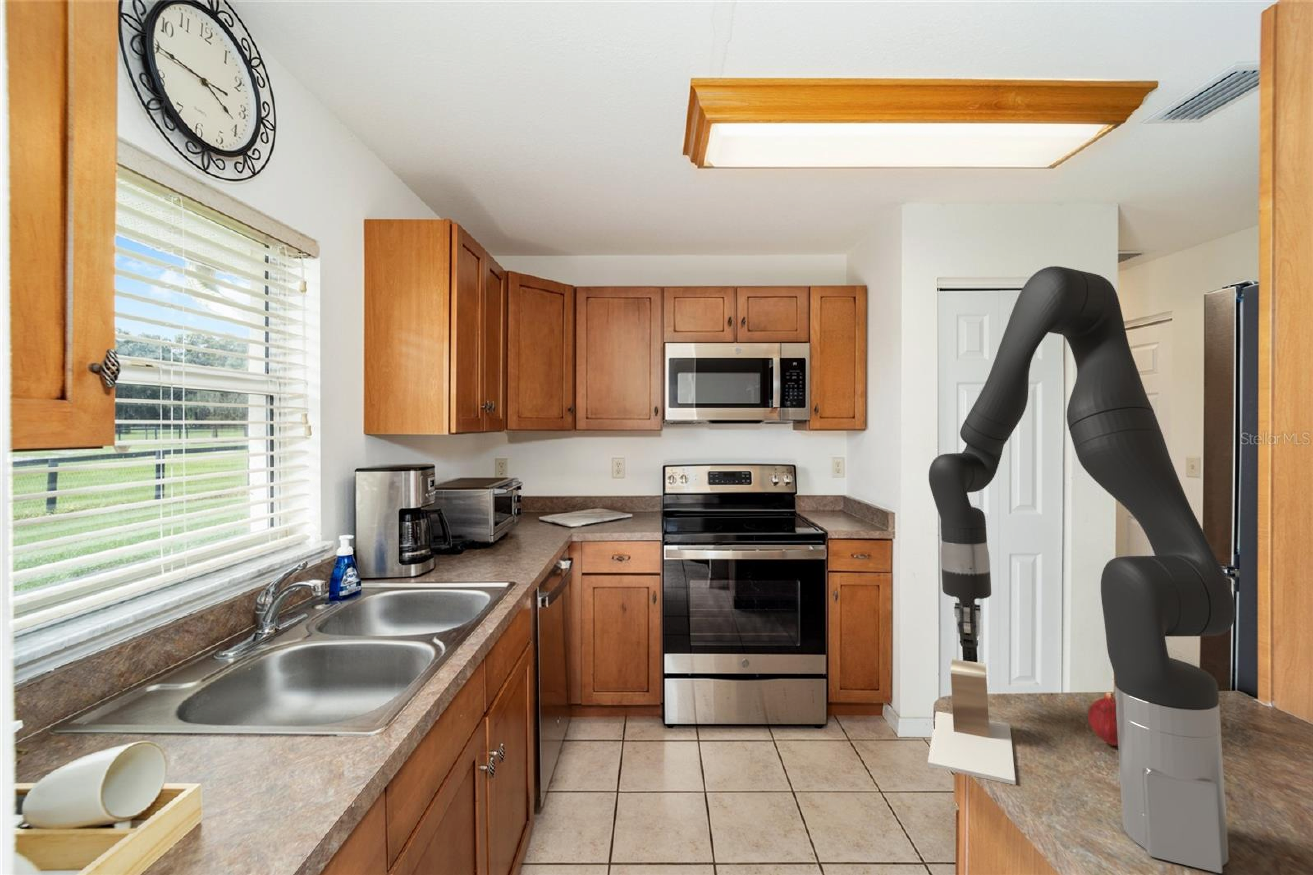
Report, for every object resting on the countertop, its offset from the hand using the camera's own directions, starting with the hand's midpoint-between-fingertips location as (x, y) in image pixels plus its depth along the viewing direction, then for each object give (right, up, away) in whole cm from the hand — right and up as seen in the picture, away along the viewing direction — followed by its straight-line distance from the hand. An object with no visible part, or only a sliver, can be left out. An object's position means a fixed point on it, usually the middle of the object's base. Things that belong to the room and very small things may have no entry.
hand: (970, 667), depth 99 cm
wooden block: (-3, -8, -5) cm, 10 cm away
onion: (+16, -8, -11) cm, 21 cm away
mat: (-5, -8, -10) cm, 14 cm away
